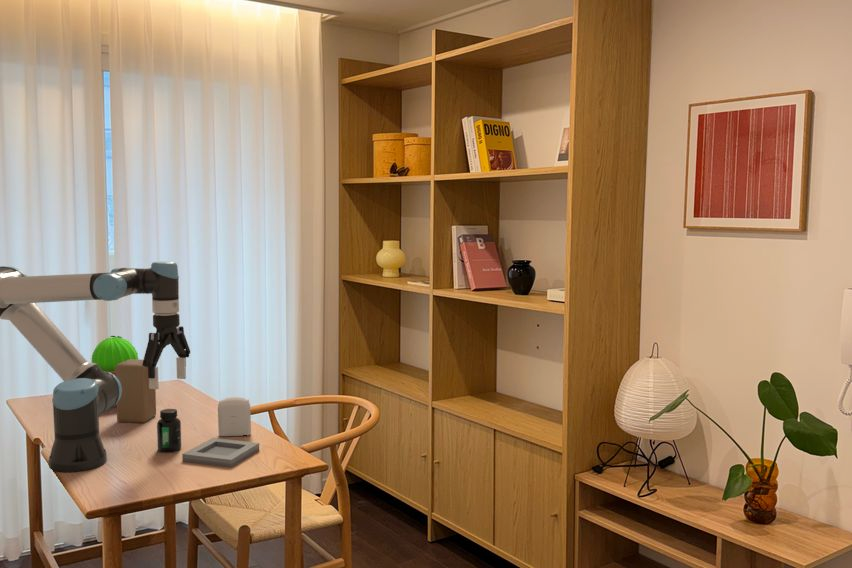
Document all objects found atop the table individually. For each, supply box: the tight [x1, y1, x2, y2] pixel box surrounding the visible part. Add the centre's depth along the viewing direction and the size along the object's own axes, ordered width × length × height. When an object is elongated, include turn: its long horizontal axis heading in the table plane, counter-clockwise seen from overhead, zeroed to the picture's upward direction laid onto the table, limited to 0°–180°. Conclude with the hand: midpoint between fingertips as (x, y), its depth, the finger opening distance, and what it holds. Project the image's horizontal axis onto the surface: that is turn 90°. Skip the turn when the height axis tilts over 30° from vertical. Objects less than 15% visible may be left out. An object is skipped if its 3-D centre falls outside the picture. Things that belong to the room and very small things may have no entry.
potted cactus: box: [90, 335, 139, 408], centre depth 288 cm, size 22×22×25 cm
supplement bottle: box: [156, 408, 182, 454], centre depth 235 cm, size 7×7×12 cm
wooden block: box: [115, 358, 157, 424], centre depth 266 cm, size 10×10×20 cm
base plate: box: [181, 437, 260, 468], centre depth 230 cm, size 16×16×2 cm
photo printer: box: [217, 396, 252, 437], centre depth 249 cm, size 10×4×12 cm, turn 96°
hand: (168, 383), depth 233 cm, fingers open, 13 cm apart
